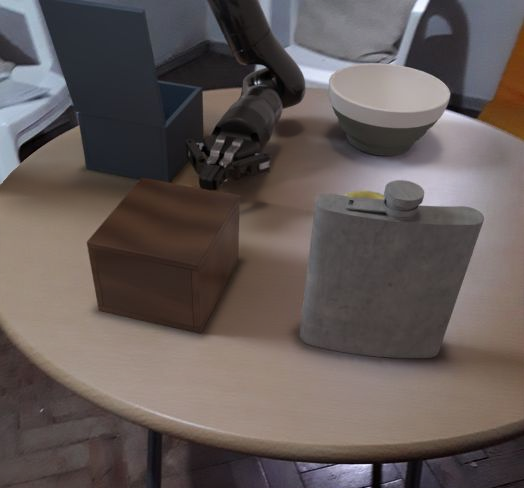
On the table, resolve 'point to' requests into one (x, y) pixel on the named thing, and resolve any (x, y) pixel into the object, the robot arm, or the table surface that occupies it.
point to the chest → (145, 137)
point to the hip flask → (385, 272)
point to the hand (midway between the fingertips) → (206, 185)
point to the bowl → (386, 105)
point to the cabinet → (166, 253)
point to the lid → (106, 59)
